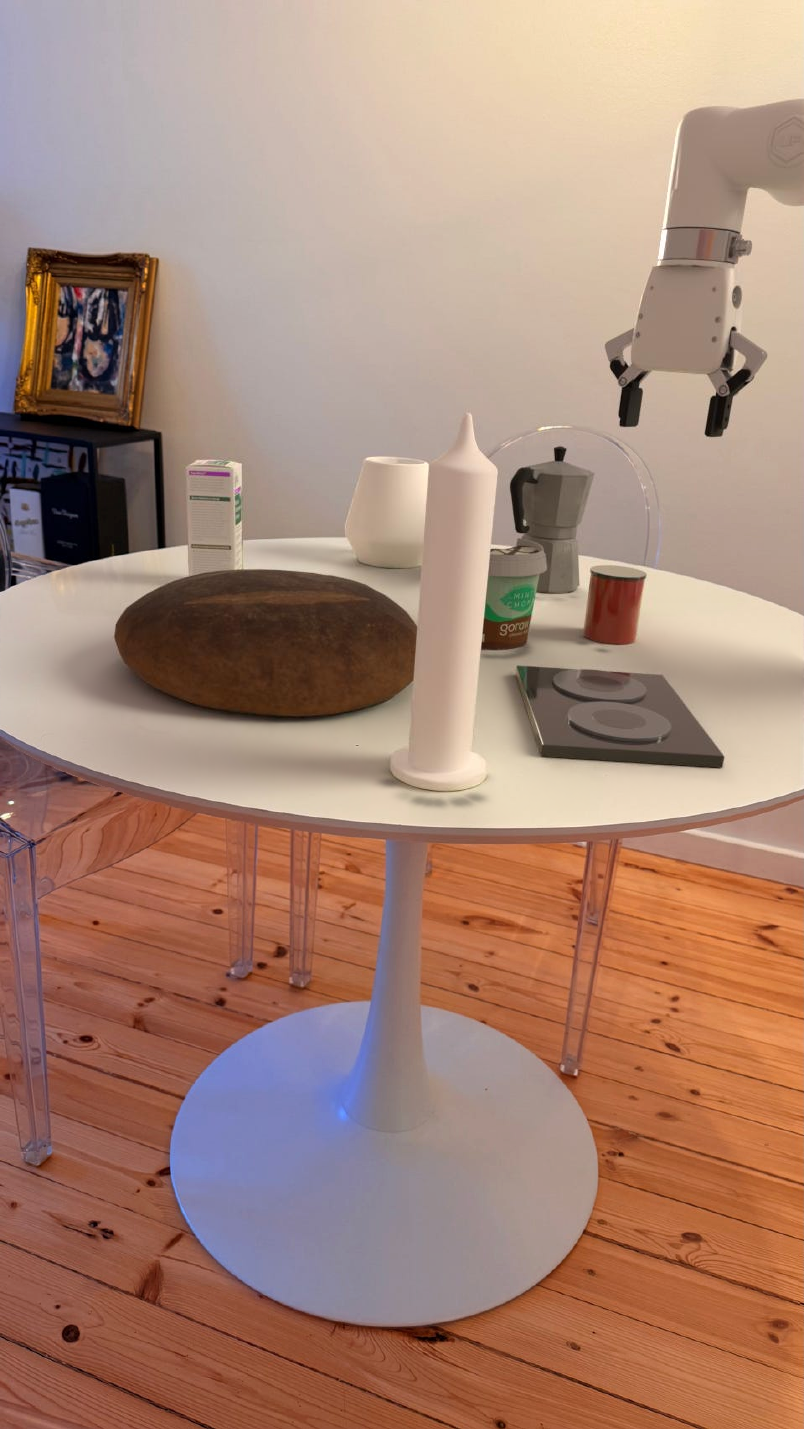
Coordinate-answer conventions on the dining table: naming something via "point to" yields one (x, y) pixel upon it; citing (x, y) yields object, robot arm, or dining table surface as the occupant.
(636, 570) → the red canister
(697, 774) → the dining table surface
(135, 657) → the bread
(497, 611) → the food container
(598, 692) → the hob
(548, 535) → the coffeepot
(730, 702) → the dining table surface
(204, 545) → the syrup box
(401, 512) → the white vase
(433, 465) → the candle
